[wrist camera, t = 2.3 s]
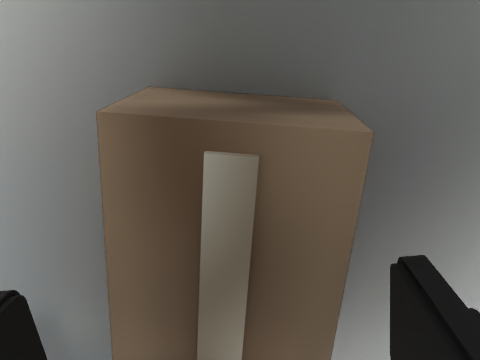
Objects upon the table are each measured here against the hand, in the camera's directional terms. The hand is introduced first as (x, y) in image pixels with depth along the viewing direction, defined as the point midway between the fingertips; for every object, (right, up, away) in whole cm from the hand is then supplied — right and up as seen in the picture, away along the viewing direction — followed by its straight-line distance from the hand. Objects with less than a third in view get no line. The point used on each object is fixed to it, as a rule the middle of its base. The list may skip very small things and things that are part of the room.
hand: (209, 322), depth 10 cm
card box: (+1, +2, +4) cm, 5 cm away
